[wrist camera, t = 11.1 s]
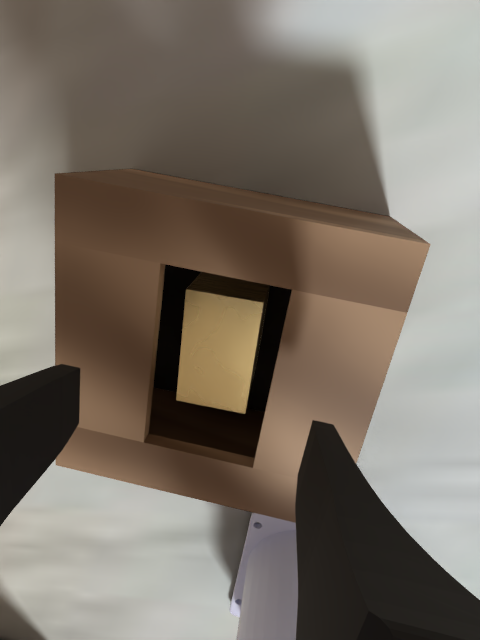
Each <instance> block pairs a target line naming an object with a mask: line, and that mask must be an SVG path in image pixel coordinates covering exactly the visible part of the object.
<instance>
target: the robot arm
mask: <svg viewBox="0 0 480 640" xmlns="http://www.w3.org/2000/svg"><path fill="white" fill-rule="evenodd" d="M79 410H80V368H78V367H74V366H69V365H65V364H59V365H56V366H53V367H50V368H47V369H44V370H41V371H39V372H36V373H33V374H31V375H28V376H25V377H23V378H20V379H17V380H15V381H12V382H9V383H6V384H4V385H1V386H0V526H1V524H2V523H3V522H4V520H5V519H6V518H7V517H8V515H9V514H10V513H11V511H12V510H13V509H14V508H15V506H16V505H17V504H18V503H19V502H20V500H21V499H22V498H23V497H24V496H25V495H26V493H27V492H28V491H29V490H30V489H31V487H32V486H33V485H34V484H35V483H36V481H37V480H38V479H39V478H40V477H41V476H42V474H43V473H44V472H45V471H46V470H47V468H48V467H49V466H50V465H51V463H52V462H53V461H54V460H55V459H56V457H57V456H58V455H59V454H60V452H61V451H62V450H63V448H64V447H65V445H66V444H67V442H68V441H69V439H70V438H71V436H72V434H73V433H74V431H75V429H76V428H77V426H78V424H79ZM295 516H296V523H294V522H290V521H286V520H282V519H278V518H274V517H269V516H265V515H261V514H257V513H253V512H252V514H251V518H250V522H249V527H248V531H247V535H246V540H245V544H244V548H243V553H242V557H241V561H240V565H239V570H238V574H237V578H236V583H235V587H234V591H233V595H232V600H231V604H230V612H231V614H233V615H234V616H237V617H240V618H239V625H238V632H237V639H236V640H480V600H479V599H478V598H476V597H475V596H474V595H473V594H471V593H470V592H469V591H468V590H467V589H466V588H465V587H463V586H462V585H461V584H460V583H459V582H458V581H457V580H455V579H454V578H453V577H452V576H451V575H450V574H449V573H448V572H446V571H445V570H444V569H443V568H442V567H441V566H440V565H439V564H438V563H437V562H436V561H435V560H434V559H433V558H432V557H431V556H430V555H429V554H428V553H427V552H426V551H425V550H424V549H423V548H422V547H421V546H420V545H419V544H418V543H417V542H416V541H415V540H414V539H413V538H412V537H411V536H410V535H409V534H408V533H407V532H406V530H405V529H404V528H403V527H402V526H401V525H400V523H399V522H398V521H397V520H396V519H395V518H394V516H393V515H392V514H391V513H390V512H389V510H388V509H387V508H386V507H385V505H384V504H383V503H382V502H381V500H380V499H379V497H378V496H377V495H376V493H375V492H374V491H373V489H372V488H371V486H370V485H369V483H368V482H367V480H366V479H365V477H364V476H363V474H362V473H361V471H360V469H359V468H358V466H357V465H356V463H355V461H354V460H353V458H352V456H351V455H350V453H349V451H348V449H347V448H346V446H345V444H344V442H343V440H342V439H341V437H340V435H339V433H338V431H337V430H336V428H335V426H334V425H333V424H329V423H325V422H320V421H316V420H313V421H312V424H311V428H310V432H309V435H308V439H307V443H306V446H305V450H304V453H303V457H302V461H301V464H300V468H299V472H298V478H297V489H296V502H295ZM256 522H259V523H260V524H257V523H256Z"/></svg>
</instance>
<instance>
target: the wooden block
mask: <svg viewBox="0 0 480 640" xmlns="http://www.w3.org/2000/svg"><path fill="white" fill-rule="evenodd" d="M269 290H270V285H266V284H261V283H256V282H251V281H246V280H241V279H236V278H231V277H226V276H221V275H216V274H211V273H206V272H201V273H200V274H199V275H198V277H197V278H196V279H195V280H194V281H193V282H192V283H191V284H190V285H189V287H188V288H187V289H186V295H185V307H184V318H183V329H182V340H181V351H180V363H179V374H178V385H177V396H176V400H177V401H182V402H187V403H192V404H197V405H202V406H208V407H213V408H218V409H223V410H228V411H233V412H238V413H243V414H245V413H246V409H247V405H248V400H249V396H250V392H251V387H252V383H253V379H254V374H255V370H256V366H257V362H258V356H259V350H260V344H261V338H262V332H263V326H264V320H265V314H266V308H267V302H268V296H269Z"/></svg>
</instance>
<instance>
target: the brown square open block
mask: <svg viewBox="0 0 480 640" xmlns="http://www.w3.org/2000/svg"><path fill="white" fill-rule="evenodd" d="M429 247H430V244H429V243H428V242H426V241H425V240H423V239H422V238H420V237H419V236H418V235H416V234H415V233H413V232H412V231H410V230H409V229H407V228H406V227H405V226H403V225H402V224H400V223H399V222H397V221H396V220H394V219H393V218H392V217H390V216H384V215H379V214H374V213H368V212H363V211H357V210H352V209H347V208H341V207H336V206H330V205H325V204H320V203H314V202H309V201H303V200H298V199H292V198H287V197H282V196H276V195H271V194H265V193H260V192H255V191H249V190H244V189H238V188H233V187H228V186H222V185H217V184H211V183H206V182H201V181H195V180H190V179H184V178H179V177H173V176H168V175H163V174H157V173H152V172H146V171H141V170H136V169H119V170H104V171H88V172H72V173H56V174H55V366H56V365H59V364H65V365H69V366H74V367H78V368H80V410H79V424H78V426H77V428H76V429H75V431H74V433H73V434H72V436H71V438H70V439H69V441H68V442H67V444H66V445H65V447H64V448H63V450H62V451H61V452H60V454H59V455H58V456H57V457H56V465H58V466H62V467H66V468H71V469H75V470H79V471H83V472H87V473H91V474H95V475H100V476H104V477H108V478H112V479H116V480H120V481H124V482H129V483H133V484H137V485H141V486H145V487H149V488H153V489H158V490H162V491H166V492H170V493H174V494H178V495H182V496H187V497H191V498H195V499H199V500H203V501H207V502H211V503H216V504H220V505H224V506H228V507H232V508H236V509H240V510H245V511H249V512H253V513H257V514H261V515H265V516H269V517H274V518H278V519H282V520H286V521H290V522H294V523H296V516H295V502H296V489H297V478H298V472H299V468H300V464H301V461H302V457H303V453H304V450H305V446H306V443H307V439H308V435H309V432H310V428H311V424H312V421H313V420H316V421H320V422H325V423H329V424H333V425H334V426H335V428H336V430H337V431H338V433H339V435H340V437H341V439H342V440H343V442H344V444H345V446H346V448H347V449H348V451H349V453H350V455H351V456H352V458H353V460H354V461H355V463H356V462H357V460H358V457H359V454H360V451H361V448H362V445H363V442H364V439H365V436H366V433H367V430H368V427H369V424H370V421H371V418H372V415H373V412H374V409H375V406H376V403H377V400H378V398H379V395H380V392H381V389H382V386H383V383H384V380H385V377H386V374H387V371H388V368H389V365H390V362H391V359H392V356H393V353H394V350H395V347H396V344H397V341H398V338H399V336H400V333H401V330H402V327H403V324H404V321H405V318H406V315H407V312H408V309H409V306H410V303H411V300H412V297H413V294H414V291H415V288H416V285H417V282H418V279H419V277H420V274H421V271H422V268H423V265H424V262H425V259H426V256H427V253H428V250H429ZM165 264H166V265H171V266H176V267H181V268H186V269H191V270H196V271H201V272H206V273H211V274H216V275H221V276H226V277H231V278H236V279H241V280H246V281H251V282H256V283H261V284H266V285H271V286H276V287H281V288H286V289H291V290H292V291H291V295H290V300H289V304H288V309H287V313H286V318H285V322H284V327H283V331H282V336H281V341H280V345H279V350H278V354H277V359H276V363H275V368H274V372H273V377H272V381H271V386H270V390H269V395H268V399H267V404H266V408H265V412H262V411H258V410H253V409H249V408H247V409H246V413H245V414H243V413H238V412H233V411H228V410H223V409H218V408H213V407H208V406H202V405H197V404H192V403H187V402H182V401H177V400H176V396H177V392H173V391H168V390H164V389H159V388H155V387H153V384H154V374H155V364H156V354H157V344H158V334H159V324H160V313H161V303H162V293H163V283H164V273H165Z"/></svg>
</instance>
